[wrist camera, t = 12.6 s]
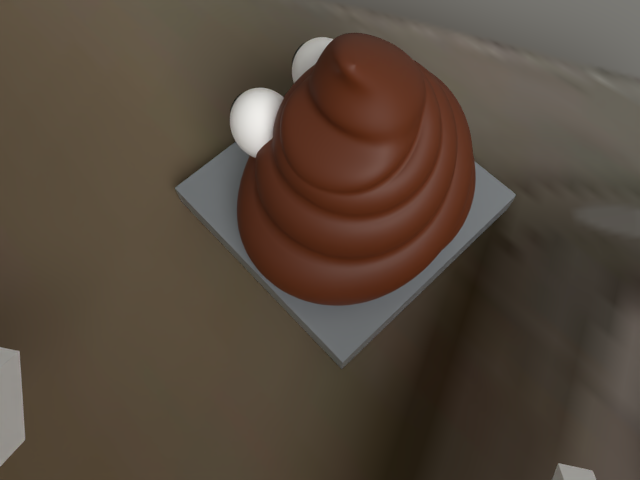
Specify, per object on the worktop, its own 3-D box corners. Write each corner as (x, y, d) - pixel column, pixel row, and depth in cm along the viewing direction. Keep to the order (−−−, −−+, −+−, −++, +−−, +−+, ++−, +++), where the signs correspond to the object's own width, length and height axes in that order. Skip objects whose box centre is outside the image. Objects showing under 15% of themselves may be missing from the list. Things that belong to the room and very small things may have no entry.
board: (181, 201, 25) (174, 187, 24) (345, 74, 27) (346, 57, 26) (341, 369, 22) (342, 362, 21) (507, 208, 24) (516, 195, 23)
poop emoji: (346, 361, 21) (361, 269, 12) (191, 216, 23) (113, 54, 15) (510, 186, 24) (615, 12, 15) (357, 74, 26) (373, -131, 17)
